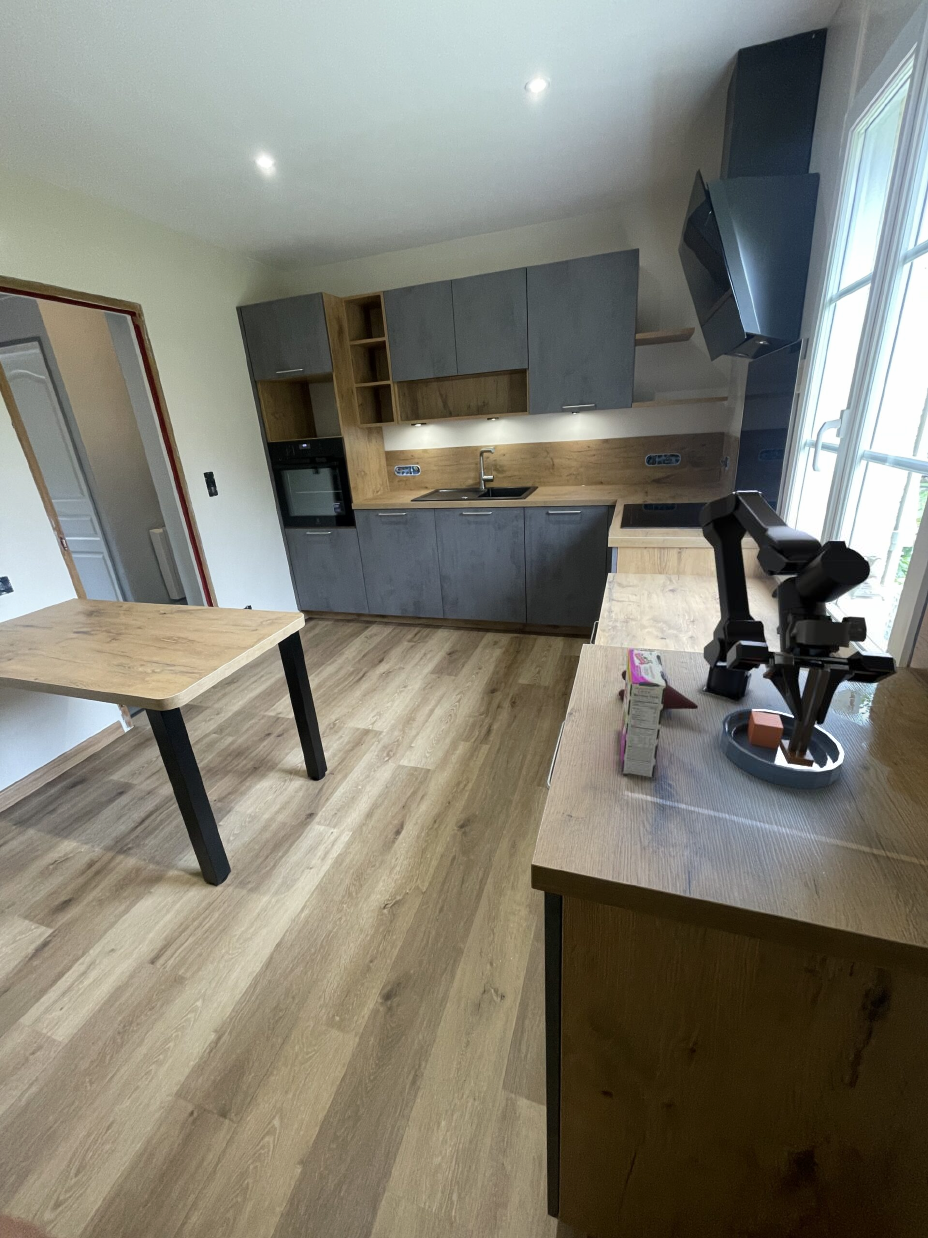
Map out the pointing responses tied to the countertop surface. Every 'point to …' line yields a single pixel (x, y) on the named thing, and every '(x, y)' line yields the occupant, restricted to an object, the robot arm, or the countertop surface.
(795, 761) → the dark brown forked stand
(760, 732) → the block
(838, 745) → the bowl
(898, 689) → the countertop surface
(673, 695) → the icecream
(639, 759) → the candy bar box
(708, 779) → the countertop surface
